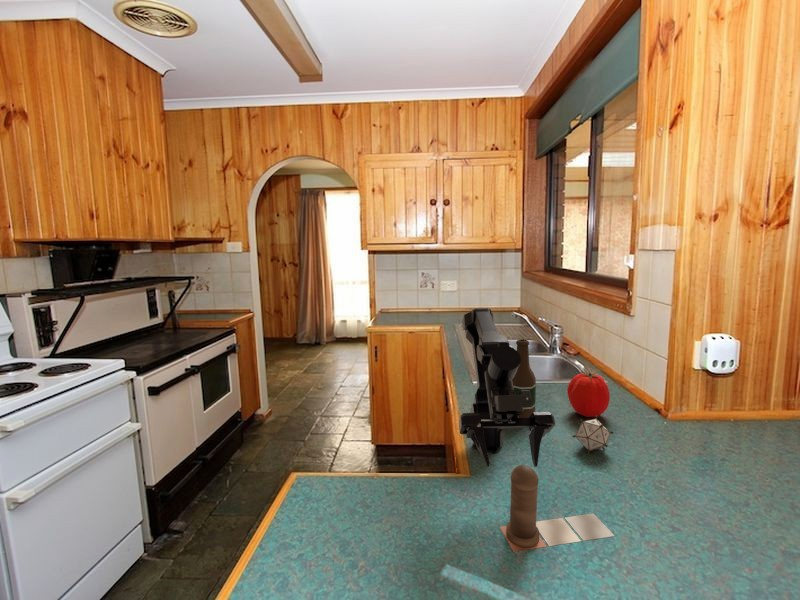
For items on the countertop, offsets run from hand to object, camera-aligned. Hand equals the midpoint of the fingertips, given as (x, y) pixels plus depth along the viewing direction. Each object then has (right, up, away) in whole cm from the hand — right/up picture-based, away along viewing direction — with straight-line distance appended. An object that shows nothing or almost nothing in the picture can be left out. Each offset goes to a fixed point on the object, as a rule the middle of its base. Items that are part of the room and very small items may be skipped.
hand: (511, 466), depth 78 cm
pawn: (0, -9, -7) cm, 12 cm away
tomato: (+35, -2, +43) cm, 55 cm away
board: (+6, -10, -6) cm, 13 cm away
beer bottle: (+15, -3, +42) cm, 45 cm away
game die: (+27, -6, +24) cm, 36 cm away
